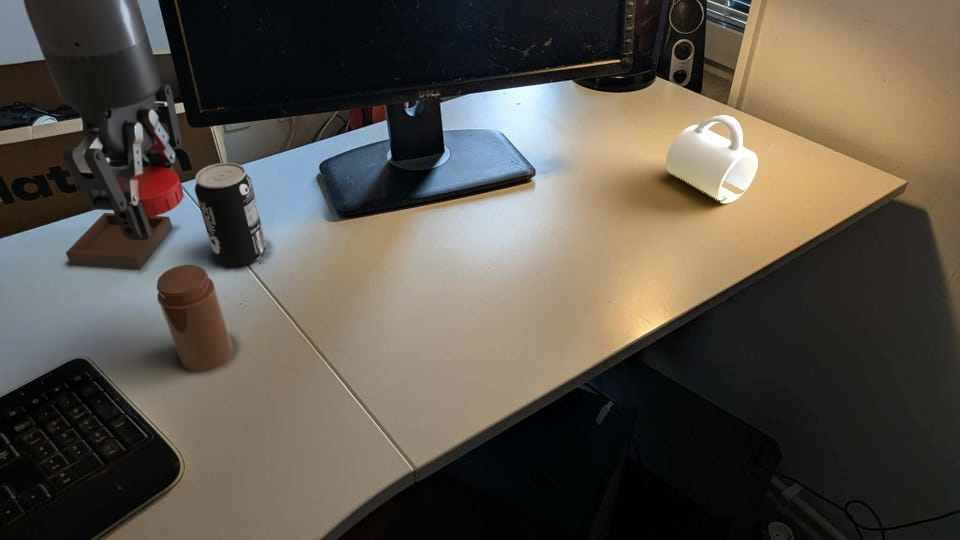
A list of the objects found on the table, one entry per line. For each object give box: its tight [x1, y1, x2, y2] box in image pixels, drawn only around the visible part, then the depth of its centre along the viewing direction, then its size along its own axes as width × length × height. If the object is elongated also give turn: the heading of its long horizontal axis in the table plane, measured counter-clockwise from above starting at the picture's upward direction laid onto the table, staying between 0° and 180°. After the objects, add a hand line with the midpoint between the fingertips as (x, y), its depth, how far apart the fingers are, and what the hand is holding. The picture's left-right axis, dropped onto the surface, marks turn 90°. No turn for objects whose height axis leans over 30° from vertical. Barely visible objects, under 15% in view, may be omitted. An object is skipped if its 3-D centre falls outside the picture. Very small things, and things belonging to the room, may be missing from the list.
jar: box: [156, 264, 234, 372], centre depth 69 cm, size 5×5×11 cm
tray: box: [65, 212, 174, 271], centre depth 87 cm, size 9×9×2 cm
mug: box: [665, 114, 758, 204], centre depth 98 cm, size 8×10×12 cm
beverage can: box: [194, 162, 267, 267], centre depth 83 cm, size 7×7×12 cm
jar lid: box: [116, 166, 185, 217], centre depth 60 cm, size 6×6×2 cm
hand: (155, 216), depth 61 cm, fingers closed on jar lid, 6 cm apart
